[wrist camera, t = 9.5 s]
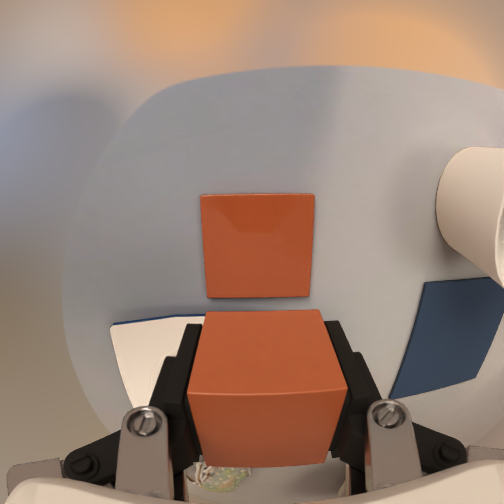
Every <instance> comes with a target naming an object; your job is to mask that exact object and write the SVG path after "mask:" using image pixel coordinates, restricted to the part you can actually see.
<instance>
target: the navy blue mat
mask: <svg viewBox="0 0 504 504" xmlns="http://www.w3.org/2000/svg"><path fill="white" fill-rule="evenodd" d="M503 313H504V288H503V287H501V286H500V285H499V284H498V283H497V282H496V281H494V280H493V279H492V278H491V277H484V278H473V279H461V280H449V281H436V282H425V283H424V288H423V292H422V296H421V300H420V304H419V308H418V312H417V316H416V319H415V323H414V326H413V330H412V333H411V336H410V340H409V343H408V346H407V349H406V352H405V355H404V358H403V361H402V364H401V367H400V370H399V372H398V375H397V378H396V380H395V383H394V386H393V388H392V391H391V393H390V396H389V399H398V398H403V397H407V396H412V395H416V394H420V393H425V392H429V391H432V390H436V389H440V388H444V387H447V386H451V385H454V384H458V383H461V382H464V381H467V380H470V379H473V378H475V377H476V376H477V374H478V372H479V370H480V368H481V365H482V363H483V361H484V359H485V357H486V355H487V353H488V350H489V348H490V346H491V344H492V341H493V339H494V336H495V334H496V332H497V329H498V326H499V324H500V321H501V319H502V316H503Z"/></svg>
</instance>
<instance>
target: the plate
mask: <svg viewBox="0 0 504 504" xmlns="http://www.w3.org/2000/svg"><path fill="white" fill-rule="evenodd" d="M205 315H206V314H186V315H170V316H163V317H156V318H148V319H141V320H133V321H125V322H117V323H114V324H113V325H112V326H111V328H110V333H111V337H112V342H113V346H114V350H115V354H116V358H117V362H118V366H119V370H120V373H121V376H122V379H123V382H124V385H125V388H126V391H127V394H128V396H129V399H130V401H131V403H132V406H133V408H136V407H139V406H148V405H149V402H150V399H151V396H152V393H153V390H154V387H155V384H156V381H157V379H158V376H159V373H160V370H161V367H162V365H163V362H164V359H165V357H166V356H175V357H176V355H177V352H178V349H179V346H180V343H181V340H182V337H183V333H184V330H185V327H186V325H187V323H192V324H202V326H203V323H204V319H205Z"/></svg>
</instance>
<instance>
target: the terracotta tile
mask: <svg viewBox="0 0 504 504" xmlns="http://www.w3.org/2000/svg"><path fill="white" fill-rule="evenodd" d="M314 198H315V195H314V194H313V193H241V194H205V195H201V196H200V203H201V221H202V237H203V251H204V264H205V277H206V289H207V297H208V298H261V297H304V296H309V291H310V277H311V262H312V245H313V225H314Z"/></svg>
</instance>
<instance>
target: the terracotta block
mask: <svg viewBox="0 0 504 504" xmlns="http://www.w3.org/2000/svg"><path fill="white" fill-rule="evenodd" d="M347 390H348V387H347V384H346V381H345V379H344V376H343V373H342V370H341V367H340V365H339V362H338V359H337V356H336V354H335V351H334V348H333V345H332V343H331V340H330V337H329V335H328V332H327V329H326V327H325V324H324V321H323V319H322V316H321V314H320V311H319V310H318V309H315V310H289V311H228V312H221V311H208V312H206V315H205V319H204V323H203V327H202V331H201V335H200V339H199V343H198V347H197V352H196V356H195V360H194V364H193V368H192V373H191V377H190V381H189V386H188V390H187V396H188V400H189V404H190V408H191V412H192V416H193V420H194V424H195V428H196V432H197V435H198V439H199V443H200V446H201V450H202V454H203V457H204V461H205V464H206V466H211V467H236V468H258V467H284V466H298V465H309V464H318V463H324V462H325V459H326V456H327V454H328V451H329V448H330V445H331V442H332V439H333V436H334V433H335V430H336V427H337V424H338V421H339V417H340V414H341V411H342V407H343V404H344V400H345V397H346V393H347Z"/></svg>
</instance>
